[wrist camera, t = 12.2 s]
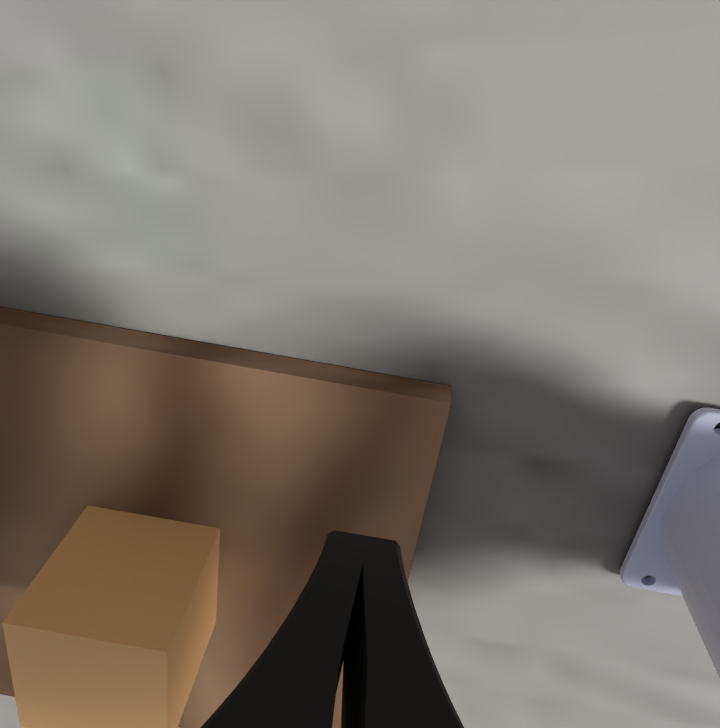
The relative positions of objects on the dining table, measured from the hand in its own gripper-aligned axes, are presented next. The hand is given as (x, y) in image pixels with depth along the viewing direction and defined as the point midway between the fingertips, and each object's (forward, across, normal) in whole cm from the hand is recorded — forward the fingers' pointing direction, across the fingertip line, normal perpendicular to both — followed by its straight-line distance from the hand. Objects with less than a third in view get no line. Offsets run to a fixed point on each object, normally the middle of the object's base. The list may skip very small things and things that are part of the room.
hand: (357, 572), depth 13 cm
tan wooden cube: (+9, +8, +11) cm, 16 cm away
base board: (+10, +8, +11) cm, 17 cm away
